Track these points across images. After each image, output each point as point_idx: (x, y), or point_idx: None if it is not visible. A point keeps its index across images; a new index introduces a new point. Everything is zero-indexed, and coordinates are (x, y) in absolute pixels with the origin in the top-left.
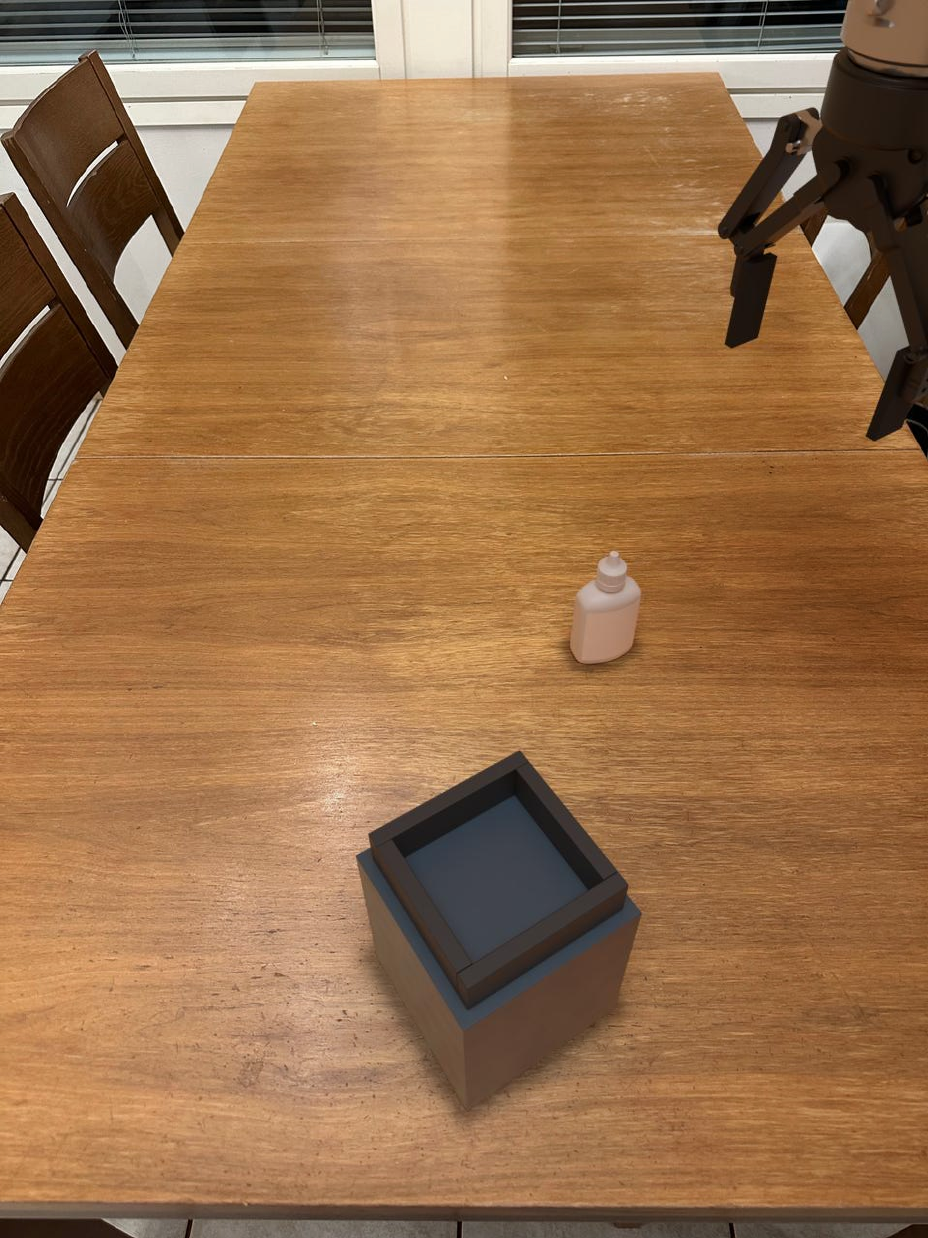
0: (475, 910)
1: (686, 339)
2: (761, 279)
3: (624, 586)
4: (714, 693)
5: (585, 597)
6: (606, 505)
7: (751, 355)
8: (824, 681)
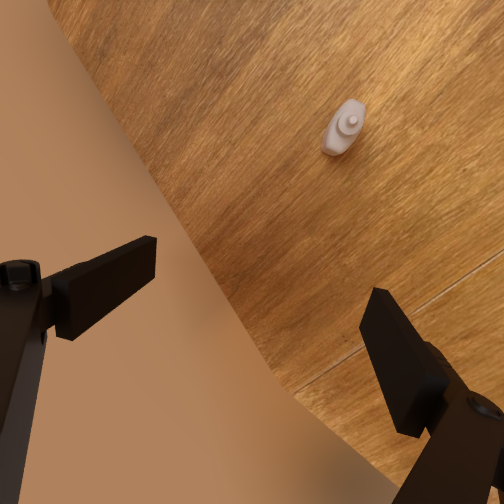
0: None
1: None
2: (394, 377)
3: (337, 133)
4: (263, 161)
5: (355, 102)
6: (417, 244)
7: None
8: (226, 214)
